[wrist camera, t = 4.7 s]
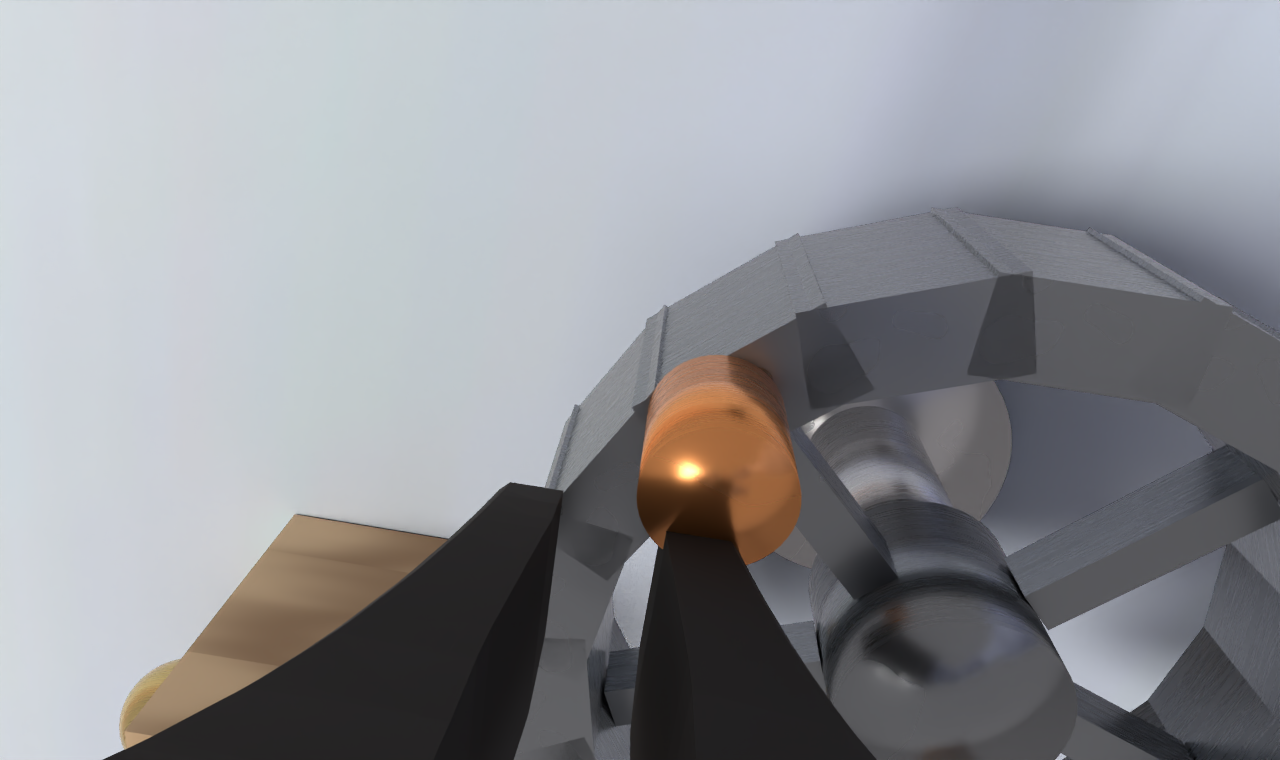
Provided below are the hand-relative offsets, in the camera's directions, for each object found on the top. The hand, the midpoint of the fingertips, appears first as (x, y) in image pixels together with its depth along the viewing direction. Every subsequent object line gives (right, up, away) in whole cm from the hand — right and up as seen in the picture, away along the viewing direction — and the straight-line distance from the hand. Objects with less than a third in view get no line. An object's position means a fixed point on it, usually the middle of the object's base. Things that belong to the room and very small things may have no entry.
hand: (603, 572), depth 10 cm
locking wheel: (+5, 0, +4) cm, 6 cm away
